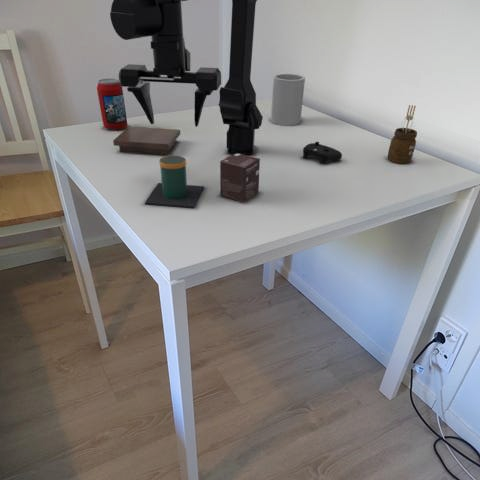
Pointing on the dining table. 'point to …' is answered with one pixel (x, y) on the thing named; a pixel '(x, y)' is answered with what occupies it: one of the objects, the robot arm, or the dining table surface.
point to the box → (239, 177)
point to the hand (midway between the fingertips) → (174, 125)
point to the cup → (287, 99)
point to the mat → (185, 202)
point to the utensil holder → (403, 142)
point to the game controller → (321, 152)
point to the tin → (173, 176)
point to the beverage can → (112, 104)
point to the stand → (147, 140)
